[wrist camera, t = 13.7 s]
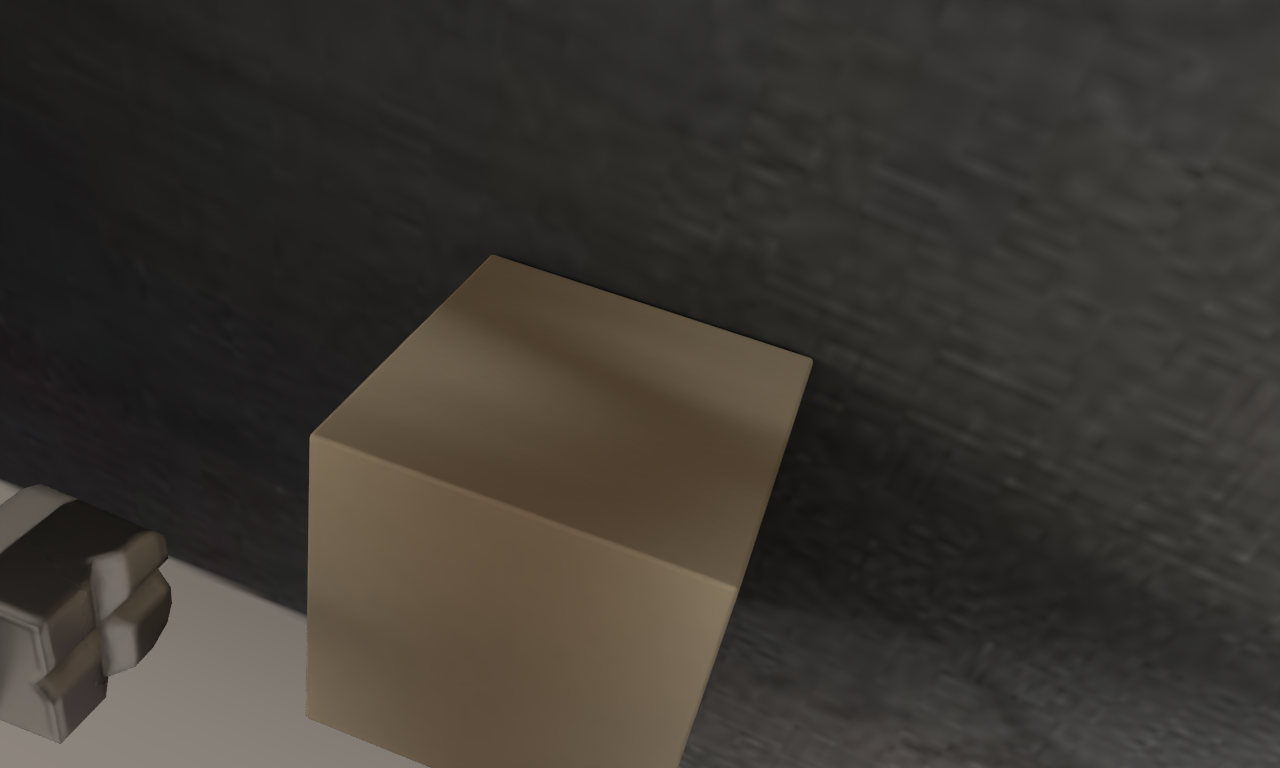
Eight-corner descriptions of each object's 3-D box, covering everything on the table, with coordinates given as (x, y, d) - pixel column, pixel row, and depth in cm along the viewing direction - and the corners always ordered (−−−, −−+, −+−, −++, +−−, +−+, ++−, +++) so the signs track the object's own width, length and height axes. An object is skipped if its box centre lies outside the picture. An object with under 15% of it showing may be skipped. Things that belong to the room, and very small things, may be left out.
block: (460, 501, 16) (303, 718, 13) (491, 252, 14) (307, 434, 10) (731, 600, 16) (646, 857, 12) (814, 357, 13) (738, 590, 10)
